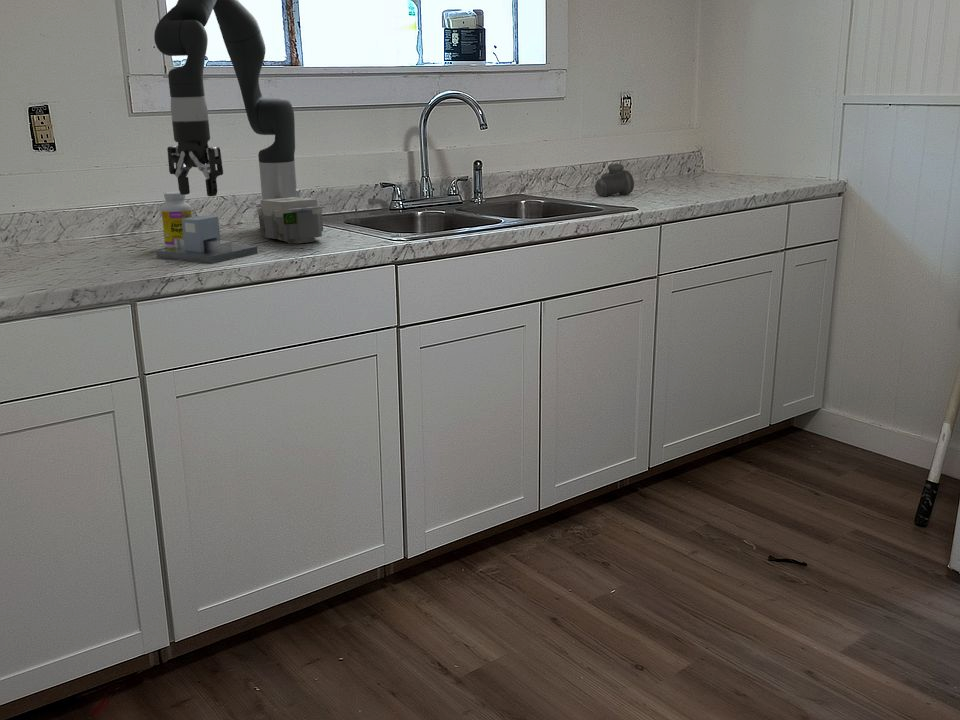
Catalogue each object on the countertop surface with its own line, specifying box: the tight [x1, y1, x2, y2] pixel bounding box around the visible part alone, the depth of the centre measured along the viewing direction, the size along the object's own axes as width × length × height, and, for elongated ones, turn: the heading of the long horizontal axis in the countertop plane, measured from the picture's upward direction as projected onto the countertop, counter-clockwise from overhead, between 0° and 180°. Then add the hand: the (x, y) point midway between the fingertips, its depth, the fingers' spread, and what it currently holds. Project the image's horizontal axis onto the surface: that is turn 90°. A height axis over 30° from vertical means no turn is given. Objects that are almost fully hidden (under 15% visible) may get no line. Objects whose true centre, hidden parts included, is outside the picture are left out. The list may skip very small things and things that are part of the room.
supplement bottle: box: [160, 191, 193, 249], centre depth 217 cm, size 7×7×13 cm
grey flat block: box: [155, 237, 258, 264], centre depth 207 cm, size 14×17×4 cm
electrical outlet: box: [255, 197, 326, 244], centre depth 227 cm, size 12×28×10 cm, turn 30°
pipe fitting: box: [594, 163, 635, 198], centre depth 301 cm, size 12×8×10 cm
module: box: [182, 215, 221, 252], centre depth 205 cm, size 6×5×7 cm
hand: (198, 195), depth 203 cm, fingers open, 8 cm apart
